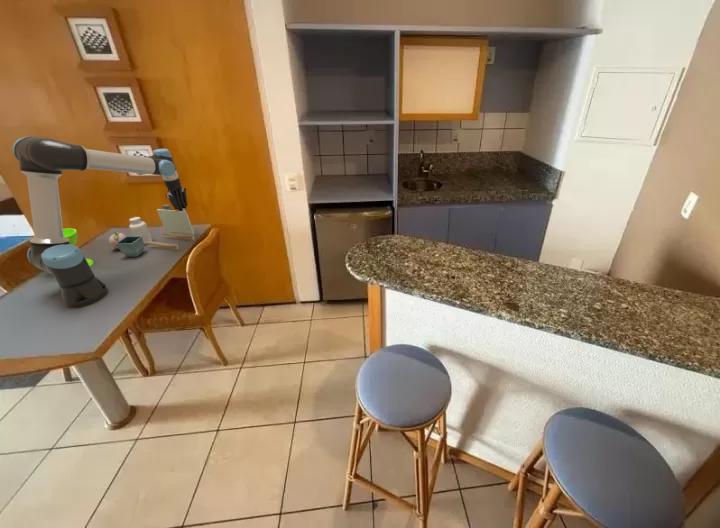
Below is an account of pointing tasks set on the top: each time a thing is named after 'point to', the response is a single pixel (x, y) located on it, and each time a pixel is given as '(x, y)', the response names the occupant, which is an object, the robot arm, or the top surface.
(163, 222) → the panel
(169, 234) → the tan wooden pieces
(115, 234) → the decorative fruit
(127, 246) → the flower pot
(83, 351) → the top surface
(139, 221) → the pill bottle
